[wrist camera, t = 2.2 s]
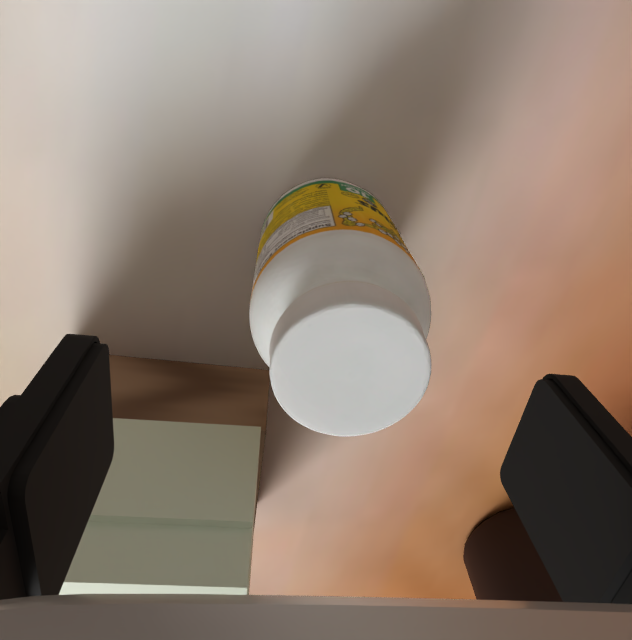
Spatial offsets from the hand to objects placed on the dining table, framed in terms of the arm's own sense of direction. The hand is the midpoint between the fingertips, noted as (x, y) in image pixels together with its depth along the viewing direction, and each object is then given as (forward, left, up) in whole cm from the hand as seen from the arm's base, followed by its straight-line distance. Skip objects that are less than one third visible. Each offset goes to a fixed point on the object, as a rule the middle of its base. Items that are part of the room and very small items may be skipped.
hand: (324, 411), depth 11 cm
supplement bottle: (-1, 0, -11) cm, 11 cm away
